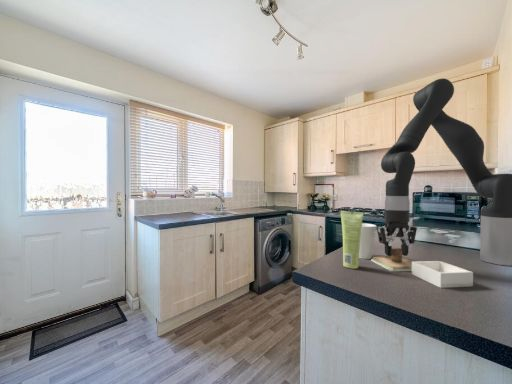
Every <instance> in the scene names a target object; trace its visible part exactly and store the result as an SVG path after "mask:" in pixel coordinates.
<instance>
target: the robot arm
mask: <svg viewBox="0 0 512 384" xmlns="http://www.w3.org/2000/svg"><path fill="white" fill-rule="evenodd" d="M454 93H455V86H454V85H453V83H452V82H451V80H449V79H447V78H437V79H435V80H433V81H432V82H430V83H428V84H426V86H424V87H422V88H421V89H419V90H418V91H417V92H415V93H414V94H413V97H412V102H413V104H414V107H415V108H416V110H417V111H418V112H417V113H416V114H415V115H414V116H413V118H412V119H410V121H409V122H408V123H407V124H406V126H404V128H403V129H402V132H401V133H400V135H399V137H398V138H397V141H396V142H395V143H393V145H392V146H391V147H390V148H389V149H388V150H387V151H386V152H385V154H384V155H383V156H382V158H381V163H380V166H381V170H382V171H383V172H384V173H386V174H394V177H393V178H391V179H390V180H387V181H386V183H385V197H384V198H385V200H384V221H385V224H384V226H376V232H377V237H378V238H377V239H378V241H379V243H380V244H382V245H384V254H385V256H392V248H393V246H392V245H393V243H394V241H395V240H396V238H399V239H400V243H401V245H400V249H402V256H403V257H406V256H408V254H409V248H410V247H409V246H410V245H411V244H415V240H416V234H417V231H418V229H417V227H416V226H411V225H409V222H410V214H411V213H410V212H411V209H410V205H411V204H410V196H409V195H410V182H411V180H412V176H413V173H414V170H415V168H416V167H415V166H416V159H415V157H414V155H413V153H414V152H415V151H417V150H418V148H419V146H420V144H421V143H422V141H423V139H424V138H425V136H426V134H427V132H428V130H429V128H430V127H431V126H432V128H433V129H434V130H435V131H436V133H437V134H438V135H439V136H440V138H441V139H442V141H443V142H444V144H445V145H446V147H447V148H448V149H449V151H450V152H451V154H452V155H453V156H454V157H455V159H456V160H457V161H458V163H459V165H460V167H461V168H462V170H464V173H465V174H466V176H467V177H468V179H469V181H470V183H471V185H472V187H473V189H474V190H475V192H476V193H477V194H478V195H479V196H480V197H482V198H486V199H492V203H491V204H490V205H488V206H486V207H482V208H481V209H480V232H479V233H480V234H479V235H480V237H479V238H480V240H479V241H480V242H479V243H480V245H479V246H480V247H479V253H480V254H479V259H480V260H481V261H482V262H487V263H491V264H494V265H501V266H512V173H495V174H493V173H492V172H491V171H490V170H489V169H488V167H487V166H486V164H485V161H484V152H485V144H484V143H485V142H484V140H483V139H482V137H481V136H480V135H479V133H478V132H477V130H476V129H475V128H474V127H473V126H472V125H470V124H468V123H466V122H464V121H462V120H459V119H456V118H454V117H453V116H450V115H449V114H447V113H446V112H445V110H443V109H444V108H445V107H446V106H447V104H448V103H449V102H450V101H451V99H452V98H453V96H454Z"/></svg>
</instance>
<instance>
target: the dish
mask: <svg viewBox="0 0 512 384" xmlns="http://www.w3.org/2000/svg"><path fill="white" fill-rule="evenodd" d="M411 275H413V276H416V277H417V278H419V279H421V280H424V282H425V281H426V282H427V283H430V284H431V285H434V286H436V287H438V288H441V289H442V288H443V289H444V288H446V289H447V288H464V287H465V288H468V287H469V288H470V287H474V272H473V271H470V270H468V269H465V268H462V267H460V266H456V265H453V264H450V263H447V262H445V261H442V260H426V261H425V260H422V261H421V260H420V261H413V262H412V271H411Z"/></svg>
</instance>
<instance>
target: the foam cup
mask: <svg viewBox="0 0 512 384" xmlns="http://www.w3.org/2000/svg"><path fill="white" fill-rule="evenodd" d="M376 232H377V225H376V224H372V223H366V222H365V223H364V222H362V227H361V236H360V248H359V259H361V258H362V260H369V259H370V260H371V259H373V250H374V247H375V246H374V243H375V238H376Z"/></svg>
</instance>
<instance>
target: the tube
mask: <svg viewBox="0 0 512 384" xmlns="http://www.w3.org/2000/svg"><path fill="white" fill-rule="evenodd" d="M340 219H341V231H342V232H341V233H342V265H343V267H344V268H347V269H354V270H355V269H359V264H360V263H359V262H360V258H359V248H360V236H361V227H362V223H363V219H364V212H363V211H362V212H360V211H358V212H357V211H343V210H341V211H340Z"/></svg>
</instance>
